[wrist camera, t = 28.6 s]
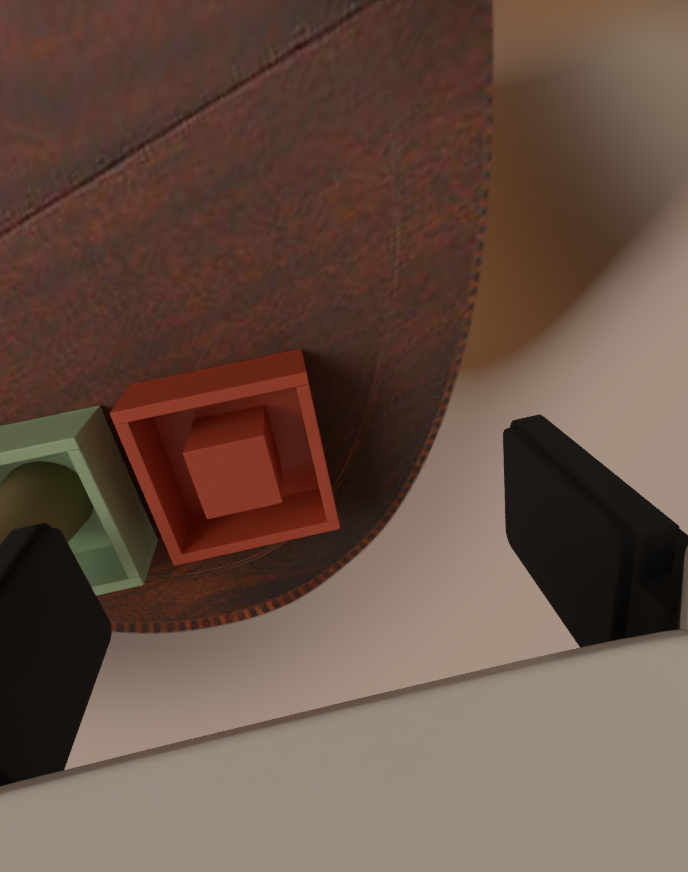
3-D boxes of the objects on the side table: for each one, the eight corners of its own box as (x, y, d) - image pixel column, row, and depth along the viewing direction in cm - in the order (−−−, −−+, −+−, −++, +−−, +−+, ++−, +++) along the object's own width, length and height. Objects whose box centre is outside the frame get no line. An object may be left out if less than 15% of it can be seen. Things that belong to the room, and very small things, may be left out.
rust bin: (130, 383, 33) (108, 413, 29) (301, 348, 34) (306, 371, 29) (185, 523, 38) (173, 566, 34) (332, 490, 39) (340, 528, 34)
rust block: (193, 419, 34) (182, 453, 30) (264, 404, 34) (264, 435, 30) (214, 480, 37) (206, 520, 32) (281, 465, 37) (282, 503, 32)
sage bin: (-75, 441, 33) (-129, 480, 28) (100, 405, 33) (74, 437, 29) (8, 573, 38) (-27, 623, 34) (158, 540, 39) (144, 585, 34)
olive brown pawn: (98, 470, 35) (32, 577, 25) (89, 539, 37) (26, 662, 27) (2, 452, 33) (-108, 559, 24) (-1, 525, 36) (-102, 650, 26)
